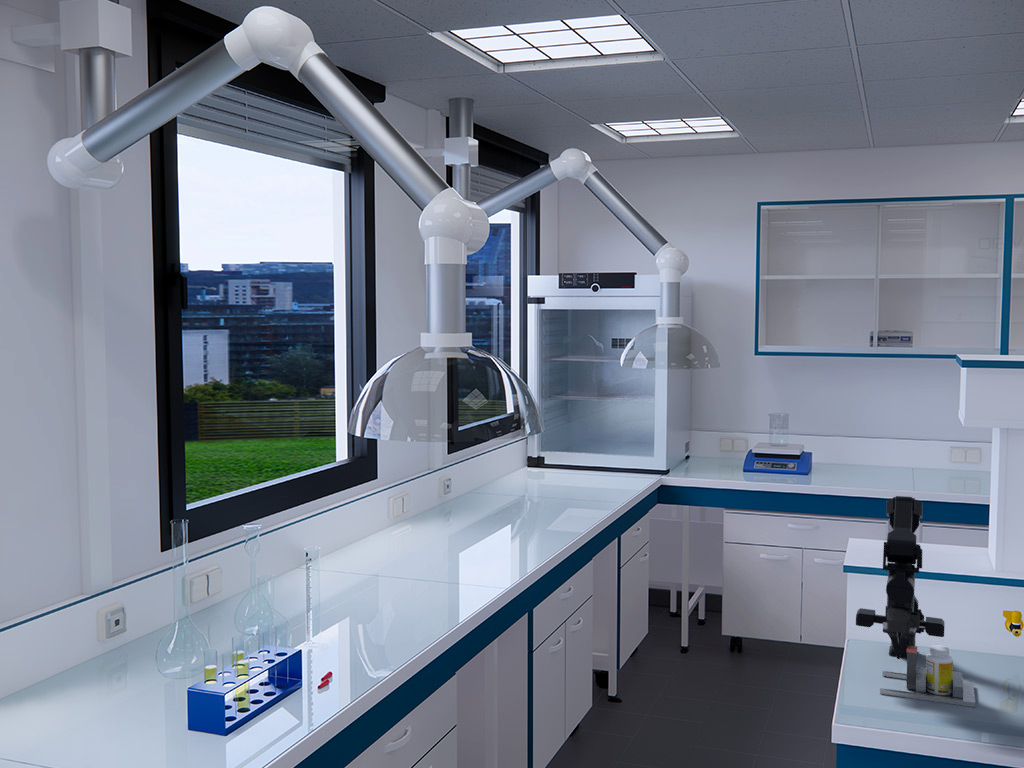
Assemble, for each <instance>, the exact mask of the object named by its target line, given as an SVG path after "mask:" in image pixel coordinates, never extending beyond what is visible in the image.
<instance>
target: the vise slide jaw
mask: <svg viewBox="0 0 1024 768" xmlns="http://www.w3.org/2000/svg"><path fill="white" fill-rule="evenodd" d="M917 657H918V646H917V645H915V646H909V645H907V657H906V674H907V680H906V689H907V690H915V693H920V694H926V693H927V692H926V691H927V689H926V667H922V666H917V665H918V664H917V663H918V662H917V661H918V660H917Z"/></svg>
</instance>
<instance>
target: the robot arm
mask: <svg viewBox="0 0 1024 768" xmlns="http://www.w3.org/2000/svg"><path fill="white" fill-rule="evenodd" d="M885 514H886V517H889V525H890V527H891V528H892V530H891V531H890V532H888V533H887V538H886V541H884V542H883V551H882V552H883V554H882V555H883V556H882V557H883V558H882V570H883V571H888V572H887V581H886V586H885V587H886V588H885V593H886V595H887V596H886V597H887V598H886V600H887V601H886V605H885V615H882V614H876V609H870V608H862V607H861V608H859V609H858V610H857V611H856V613H855V626H857V627H866V628H871V627H872V626H874V624H879V625H881V624H882V632H883V633H885V634H887V635H888V637H889V638H890V645H889V650H888V655H890V656H895V657H896V659H897V660H900V658H902V657H905V658H907V645H909V646H916V634H919V635H920V634H922V633H926V634H927V635H928V636H929V637H938V638H944V637H945V620H944V619H943V618H941V617H940V618H938V617H932V616H925V615H924V613H923V612H922V609H921V608H920V609H919V600H918V598H917V597H916V595H915V588H916V587H915V583H916V581H915V580H916V574H920V569H923V548H922V547H921V545H920V544H918V543H917V535H916V534H915V533H916V531H917V529H918V528H919V527H920V519H923V501H921V500H919V499H916V498H915V497H913V496H901V495H896V496H894V497H892V498H888V499H886V513H885Z"/></svg>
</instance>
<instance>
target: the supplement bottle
mask: <svg viewBox="0 0 1024 768" xmlns="http://www.w3.org/2000/svg"><path fill="white" fill-rule="evenodd" d="M953 662H954V659H953V658H952V656H950V648H949V647H948V646H946V645H939V644H932V645H930V646H929V653H927V654H926V656H925V668H926V691H927V692H928V693H931V695H932V694H933V695H935V696H950V695H952V691H953V672H954V671H953V670H954V667H953V665H954V664H953Z"/></svg>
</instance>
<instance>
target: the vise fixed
mask: <svg viewBox="0 0 1024 768" xmlns="http://www.w3.org/2000/svg"><path fill="white" fill-rule="evenodd" d="M883 676H886V678H891V677H892V679H900V680H906V681H907V673H902V672H901V673H900V672H894V671H887V670H882V677H883ZM963 680H964V679H963V673H962V672H960V671H953V691H952V693H951V695H952V697H949V696H943V695H936V694H933V695H932V694H920V693H916V692H911V691H906V690H905V691H904V690H898V689H896V690H895V689H889V688H882V687H880V688H879V695H884V696H893V697H900V698H907V699H915V700H921V701H922V700H923V701H926V702H927V701H928V702H936V703H943V704H948V705H957V706H965V707H972V708H976V696H975V687H974V682H970V681H963Z"/></svg>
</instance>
